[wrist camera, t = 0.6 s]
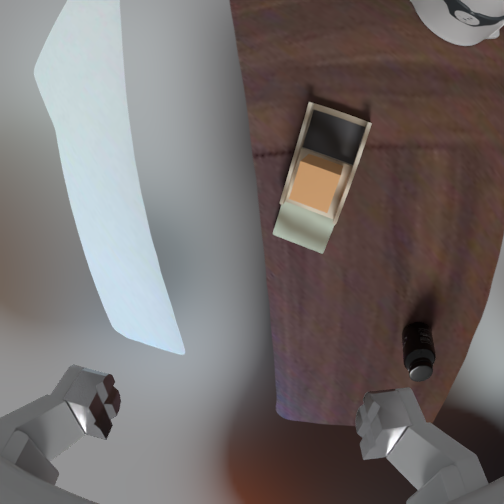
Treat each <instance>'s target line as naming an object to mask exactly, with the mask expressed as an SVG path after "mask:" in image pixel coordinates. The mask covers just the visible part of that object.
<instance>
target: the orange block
mask: <svg viewBox="0 0 504 504" xmlns="http://www.w3.org/2000/svg"><path fill="white" fill-rule="evenodd" d="M342 169H343V166H342V165H339V164H336V163H334V162H331V161H328V160H325V159H323V158H320V157H317V156H314V155H311V154H308V155H307V156H306V157H305V158H303V159H302V160H301V161H300V164H299V167H298V171H297V174H296V177H295V181H294V184H293V187H292V190H291V194H290V197H289V199H290V200H293V201H296V202H299V203H301V204H304V205H307V206H310V207H312V208H315V209H317V210H320V211H323V212H325V213H328V210H329V207H330V204H331V202H332V199H333V196H334V193H335V190H336V188H337V185H338V182H339V179H340V176H341V173H342Z"/></svg>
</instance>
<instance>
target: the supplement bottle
mask: <svg viewBox="0 0 504 504" xmlns="http://www.w3.org/2000/svg"><path fill="white" fill-rule="evenodd" d="M402 343H403V359H404V365H405V367H406V369H407V370H409V376H410V378H411V379H412V380H413V381H417V382H418V381H424V380H426V379H428V378H429V377H430V376H431V375H432V373H433V364H434V362H435V358H436V355H435V349H434V343H433V337H432V332H431V329H430V327H429V326H428V325H427V324H425V323H422V322H416V323H413V324H410V325H409V326H408V327H406V328H405V330H404V331H403V334H402Z"/></svg>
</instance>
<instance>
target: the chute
mask: <svg viewBox="0 0 504 504" xmlns="http://www.w3.org/2000/svg"><path fill="white" fill-rule="evenodd" d="M371 124H372V123H370V122H367V121H365V120H362V119H359V118H357V117H354V116H351V115H348V114H345V113H343V112H340V111H337V110H334V109H331V108H328V107H325V106H321V105H318V104H315V103H312V102H309V103H308V107H307V110H306V114H305V117H304V121H303V124H302V128H301V131H300V135H299V138H298V142H297V145H296V149H295V152H294V156H293V159H292V162H291V166H290V169H289V173H288V176H287V179H286V183H285V186H284V190H283V193H282V196H281V200H280V203H279V204H282V205H281V208H280V211H279V215H278V218H277V221H276V224H275V228H274V231H273V235H275V236H278V237H280V238H283V239H286V240H288V241H291V242H293V243H296V244H299V245H301V246H304V247H306V248H309V249H312V250H314V251H317V252H319V253H322V254H323V252H324V250H325V247H326V245H327V242H328V240H329V237H330V235H331V232H332V230H333V227H334V225H336V223H337V220H338V218H339V215H340V212H341V210H342V207H343V205H344V202H345V199H346V197H347V194H348V191H349V188H350V186H351V183H352V180H353V177H354V175H355V172H356V169H357V166H358V163H359V160H360V157H361V154H362V152H363V149H364V146H365V143H366V140H367V137H368V134H369V131H370V127H371ZM308 154H311V155H314V156H317V157H320V158H323V159H325V160H328V161H331V162H334V163H336V164H339V165H342V166H343V169H342V173H341V176H340V179H339V182H338V185H337V188H336V190H335V193H334V196H333V199H332V202H331V204H330V207H329V210H328V213H325V212H323V211H320V210H317V209H315V208H312V207H310V206H307V205H304V204H301V203H299V202H296V201H293V200H290V199H289V197H290V194H291V190H292V187H293V184H294V181H295V177H296V174H297V171H298V167H299V164H300V161H301V160H302V159H303V158H305V157H306V156H307V155H308Z"/></svg>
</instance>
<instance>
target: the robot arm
mask: <svg viewBox="0 0 504 504" xmlns="http://www.w3.org/2000/svg"><path fill="white" fill-rule="evenodd" d="M410 1H411V2H412V4H413V5H414V8H415V10H416V12H417V14H418V15H419V17H420V18H421V20H422V21H423V23H424V24H425V25H426V26H427V27H428V28H429V29H430V30H431V31H432V32H434V33H435V34H436V35H438V36H439V37H441V38H442V39H444V40H446V41H448V42H450V43H453V44H456V45H461V46H471V45H475V44H477V43H479V42H481V41H482V40H484V39H494V38H497V37H498V36H499V29H500V28H501V27H502V26H503V25H504V0H410ZM114 383H115V381H114V378H113V376H112V375H111V374H107V373H103V372H99V371H96V370H92V369H88V368H84V367H81V366H77V365H72V366H70V367H69V368H68V370H67V371H66V373H65V374H64V375H63V377H62V378H61V380H60V381H59V383H58V385H57V386H56V387H55V389H54V390H53V392H52V394H51V395H45V396H43V397H41V398H39V399H37V400H35V401H33V402H31V403H29V404H27V405H25V406H23V407H21V408H19V409H17V410H15V411H13V412H11V413H9V414H7V415H5V416H3V417H1V418H0V504H98V503H95V502H93V501H89V500H87V499H85V498H82V497H80V496H77V495H75V494H72V493H70V492H68V491H66V490H63V489H61V488H59V487H57V486H55V483H56V481H57V478H58V476H59V472H58V470H57V469H56V468H55V467H54V466H53V465H52V464H51V463H50V461H52V460H53V459H54V458H55V457H57V456H58V455H60V454H61V453H62V452H64V451H65V450H66V449H68V448H69V447H70V446H72V445H73V444H74V443H76V442H77V441H78V440H80V439H81V438H82V437H83V436H85V434H87V435H91V436H94V437H97V438H101V439H105V440H106V439H107V437H108V435H109V433H110V430H111V428H112V426H113V425H112V422H111V419H112V418H114V417H116V416H117V414H118V412H119V409H120V402H121V400H120V394H119V391H118V390H117V389H116V388H115V387H114V386H113V385H114ZM363 401H364V405H362V406H361V407H359V409H358V412H357V415H356V429H357V433H358V434H359V435H360V436H361V437H363V439H362V441H361V443H360V446H361V451H362V456H363V460H365V459H373V458H381V457H387V459H388V460H389V461H390V462H391V463H392V464H393V465H394V466H395V467H396V468H397V469H398V470H399V471H400V472H401V473H402V474H403V475H404V476H405V477H406V479H408V481H409V482H410V483H412V485H413V486H414V487H415V488H416V489H417V490H418V491H417V492H416V493H415V494H414V495H413V496H411V497H410V498H409V499H408V500H407V502H406V503H407V504H504V476H503V477H501V478H500V479H498V480H496V481H494V482H492V483H490V484H488V482H487V479H486V477H485V474H484V472H483V469H482V467H481V465H480V463H479V460H478V458H477V455H475V454H474V453H472V452H471V451H470V450H468V449H467V448H465V447H464V446H462V445H461V444H460V443H458V442H457V441H455V440H454V439H452V438H451V437H450V436H448V435H447V434H445V433H444V432H443V431H441V430H440V429H438V428H437V427H436V426H434V425H433V424H431V423H426V421H425V419H424V416H423V414H422V412H421V409H420V407H419V405H418V403H417V400H416V398H415V396H414V394H413V392H412V390H411V389H410V388H400V389H389V390H380V391H370V392H367V393H366V394H365V396H364V398H363Z"/></svg>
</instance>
